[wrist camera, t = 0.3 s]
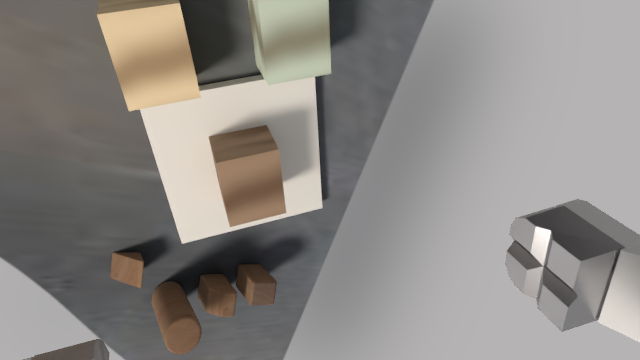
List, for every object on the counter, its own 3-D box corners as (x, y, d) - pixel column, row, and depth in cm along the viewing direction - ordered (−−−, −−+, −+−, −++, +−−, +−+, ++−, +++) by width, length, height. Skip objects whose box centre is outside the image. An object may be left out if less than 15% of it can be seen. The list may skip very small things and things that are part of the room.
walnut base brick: (208, 136, 47) (215, 163, 43) (266, 124, 48) (278, 149, 44) (222, 198, 52) (230, 227, 48) (274, 186, 53) (286, 212, 49)
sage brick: (244, -22, 41) (256, -8, 37) (309, -31, 42) (328, -18, 38) (256, 64, 46) (268, 85, 42) (314, 54, 47) (331, 73, 43)
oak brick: (99, -3, 38) (96, 14, 34) (174, -13, 39) (179, 2, 36) (128, 87, 43) (129, 111, 39) (194, 75, 44) (200, 97, 40)
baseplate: (137, 96, 43) (137, 102, 42) (310, 65, 47) (314, 70, 46) (180, 236, 54) (181, 243, 53) (319, 202, 58) (322, 207, 57)
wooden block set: (258, 246, 62) (288, 274, 53) (250, 307, 64) (278, 344, 55) (111, 247, 54) (117, 280, 45) (105, 317, 55) (110, 363, 46)
